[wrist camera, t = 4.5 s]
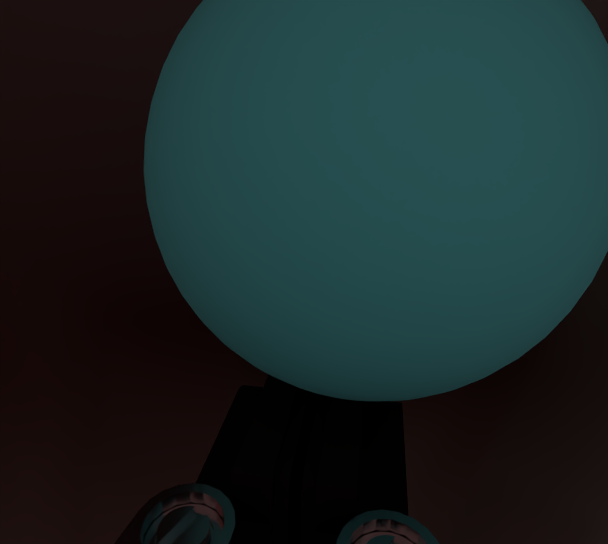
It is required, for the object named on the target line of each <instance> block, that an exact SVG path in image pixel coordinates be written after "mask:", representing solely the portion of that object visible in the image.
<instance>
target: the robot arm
mask: <svg viewBox="0 0 608 544" xmlns="http://www.w3.org/2000/svg"><path fill="white" fill-rule="evenodd" d="M114 544H439V543H438V541H437V540H436V539H435V537H434V536H433V535H432V534H431V533H430V531H429V530H428V529H427V528H426V527H424V526H423V525H422V524H420V523H419V522H418V521H416V520H415V519H414V518H411V517H409V516H408V501H407V483H406V465H405V447H404V429H403V411H402V404H401V403H399V402H390V401H355V400H347V399H340V398H334V397H329V396H325V395H321V394H317V393H313V392H310V391H307V390H304V389H301V388H298V387H296V386H293V385H291V384H289V383H286V382H284V381H282V380H280V379H278V378H275V377H273V376H271V375H268V378H267V380H266V383H265V385H264V388H263V387H254V386H245V385H243V386H241V387H240V389H239V390H238V392H237V394H236V396H235V399H234V401H233V403H232V405H231V407H230V409H229V412H228V414H227V416H226V418H225V420H224V423H223V425H222V427H221V429H220V431H219V433H218V436H217V438H216V440H215V442H214V444H213V447H212V449H211V451H210V453H209V455H208V457H207V460H206V462H205V464H204V466H203V468H202V471H201V473H200V475H199V477H198V479H197V481H196V483H191V484H183V485H177V486H175V487H172V488H169V489H166V490H164V491H162V492H160V493H159V494H157V495H156V496H154V497H153V498H151V499H150V500H149V501H148V502H147V503H146V504H145V505H144V506H143V507H142V508H141V509H140V510H139V511H138V512H137V514H136V515H135V517H134V518H133V519H132V521H131V522H130V523H129V525H128V526H127V527H126V529H125V530H124V531H123V533H122V534H121V535H120V537H119V538H118V539H117V541H116V542H115V543H114Z"/></svg>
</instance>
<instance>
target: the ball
mask: <svg viewBox="0 0 608 544" xmlns="http://www.w3.org/2000/svg"><path fill="white" fill-rule="evenodd" d="M144 179H145V189H146V200H147V206H148V210H149V214H150V219H151V223H152V227H153V231H154V235H155V238H156V241H157V244H158V246H159V249H160V251H161V254H162V257H163V259H164V262H165V264H166V267H167V269H168V271H169V273H170V274H171V276H172V278H173V280H174V282H175V284H176V285H177V287H178V289H179V291H180V293H181V294H182V296H183V297H184V299H185V300H186V301H187V303H188V304H189V305H190V307H191V308H192V309H193V311H194V312H195V313H196V315H197V316H198V317H199V318H200V320H201V321H202V322H203V323H204V324H205V325H206V326H207V327H208V328H209V329H210V330H211V331H212V332H213V333H214V334H215V335H216V336H217V337H218V338H219V339H220V340H221V341H222V342H223V343H224V344H225V345H226V346H227V347H229V348H230V349H231V350H232V351H234V352H235V353H237V354H238V355H239V356H241V357H242V358H243V359H245V360H246V361H248V362H249V363H250V364H252V365H253V366H255V367H257V368H258V369H260V370H261V371H263V372H265V373H267V374H269V375H271V376H273V377H275V378H278V379H280V380H282V381H284V382H286V383H289V384H291V385H293V386H296V387H298V388H301V389H304V390H307V391H310V392H313V393H317V394H321V395H325V396H329V397H334V398H340V399H347V400H355V401H402V400H411V399H417V398H422V397H427V396H431V395H436V394H441V393H445V392H448V391H452V390H455V389H458V388H460V387H463V386H465V385H468V384H470V383H473V382H475V381H478V380H480V379H483V378H485V377H487V376H489V375H490V374H492V373H494V372H496V371H497V370H499V369H501V368H503V367H504V366H506V365H508V364H510V363H511V362H513V361H515V360H516V359H518V358H520V357H521V356H522V355H524V354H525V353H526V352H527V351H529V350H530V349H531V348H532V347H534V346H535V345H536V344H538V343H539V342H540V341H541V340H543V339H544V338H545V337H546V336H547V335H548V334H549V333H550V332H551V331H552V330H553V329H554V328H555V327H556V326H557V325H558V324H559V323H560V322H561V321H562V320H563V319H564V317H565V316H566V315H567V314H568V313H569V312H570V311H571V310H572V308H573V307H574V306H575V304H576V303H577V301H578V300H579V299H580V297H581V296H582V294H583V293H584V292H585V290H586V289H587V287H588V286H589V285H590V283H591V282H592V280H593V278H594V276H595V274H596V273H597V271H598V269H599V267H600V265H601V263H602V261H603V259H604V257H605V255H606V253H607V251H608V44H607V42H606V40H605V38H604V36H603V34H602V32H601V30H600V28H599V26H598V24H597V22H596V20H595V18H594V17H593V15H592V14H591V13H590V12H589V10H588V9H587V8H586V6H585V5H584V4H583V3H582V1H581V0H203V1H202V2H201V3H200V4H199V6H198V7H197V8H196V10H195V11H194V13H193V14H192V16H191V17H190V18H189V20H188V21H187V23H186V24H185V26H184V27H183V29H182V30H181V32H180V33H179V35H178V36H177V38H176V41H175V43H174V45H173V47H172V49H171V51H170V53H169V55H168V57H167V59H166V61H165V63H164V65H163V67H162V71H161V74H160V77H159V80H158V83H157V86H156V89H155V92H154V95H153V98H152V102H151V106H150V112H149V118H148V123H147V129H146V135H145V150H144Z"/></svg>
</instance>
